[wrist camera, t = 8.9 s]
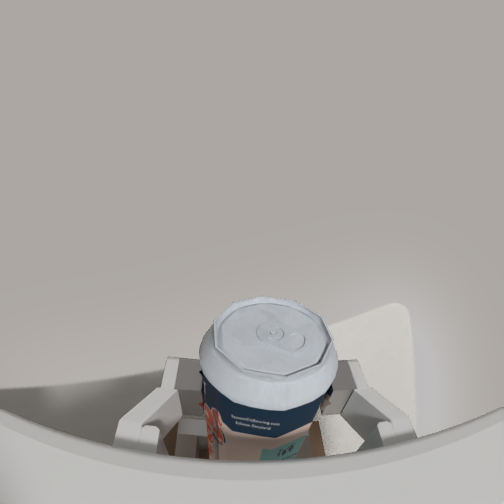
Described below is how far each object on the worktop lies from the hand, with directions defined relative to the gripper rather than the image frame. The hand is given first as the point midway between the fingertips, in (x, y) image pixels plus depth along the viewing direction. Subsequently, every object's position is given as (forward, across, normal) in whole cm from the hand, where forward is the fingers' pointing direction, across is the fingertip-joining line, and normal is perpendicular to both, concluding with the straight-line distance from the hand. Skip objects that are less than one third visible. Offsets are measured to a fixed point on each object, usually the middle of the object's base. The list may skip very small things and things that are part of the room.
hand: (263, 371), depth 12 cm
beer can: (-1, 0, -9) cm, 9 cm away
